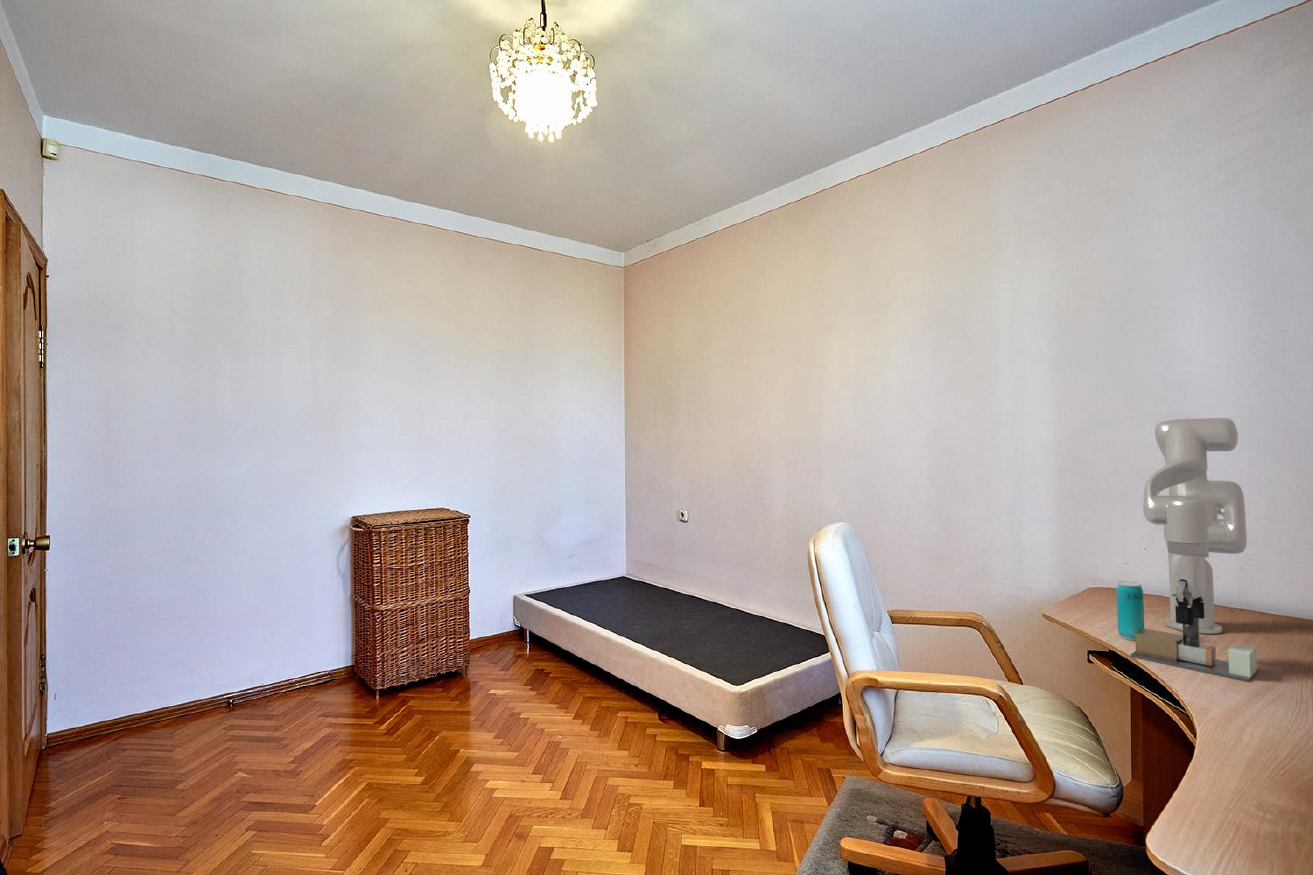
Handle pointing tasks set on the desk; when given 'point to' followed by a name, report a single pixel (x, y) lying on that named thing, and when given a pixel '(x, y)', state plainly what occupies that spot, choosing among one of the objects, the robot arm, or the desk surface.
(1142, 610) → the beverage can
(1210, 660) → the grey slider block
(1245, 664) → the socket
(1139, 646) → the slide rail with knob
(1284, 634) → the desk surface
